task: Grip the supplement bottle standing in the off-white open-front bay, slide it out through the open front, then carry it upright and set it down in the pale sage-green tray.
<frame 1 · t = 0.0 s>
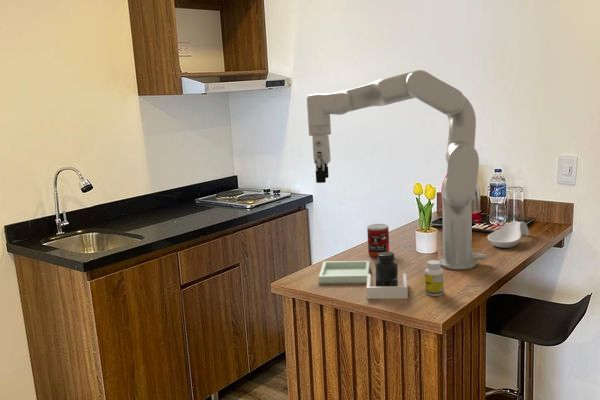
hand: (322, 180, 200), 31 cm above the table, tool pointing down, fingers open, 9 cm apart
spoon rest: (510, 243, 221), on the table
bay: (387, 290, 178), on the table
tray: (345, 275, 195), on the table
supplement bottle 2: (434, 293, 174), on the table
supplement bottle: (387, 291, 178), on the table
canned food: (378, 255, 216), on the table
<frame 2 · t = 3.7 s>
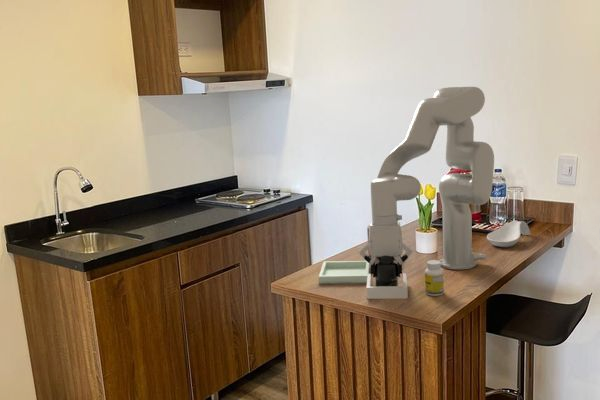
hand: (386, 275, 177), 5 cm above the table, tool pointing down, fingers closed on supplement bottle, 6 cm apart
supplement bottle: (387, 291, 178), on the table, touching gripper
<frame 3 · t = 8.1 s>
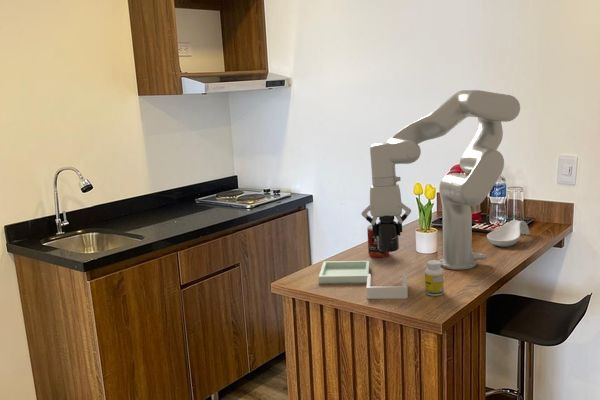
hand: (387, 234, 188), 14 cm above the table, tool pointing down, fingers closed on supplement bottle, 6 cm apart
supplement bottle: (388, 250, 189), point 9 cm above the table, touching gripper
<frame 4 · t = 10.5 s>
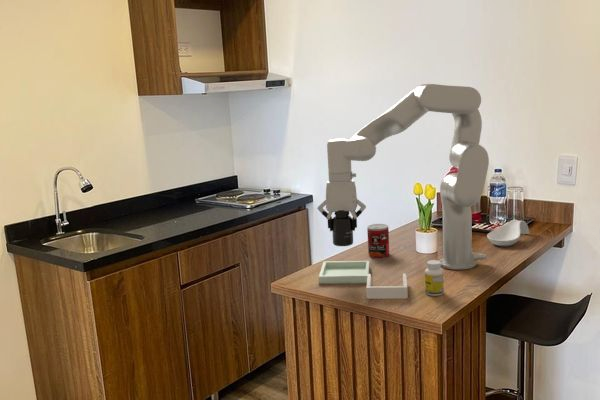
hand: (342, 229, 192), 16 cm above the table, tool pointing down, fingers closed on supplement bottle, 6 cm apart
supplement bottle: (343, 244, 193), point 11 cm above the table, touching gripper
when the fingers open (7 cm above the table, at t = 12.6 s): supplement bottle drops 1 cm, resting on tray.
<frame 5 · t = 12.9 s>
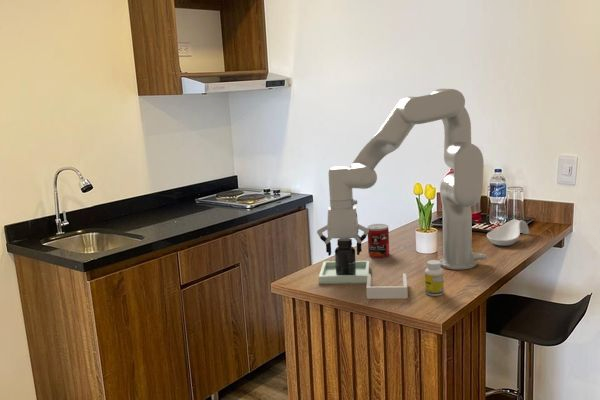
hand: (344, 254, 194), 7 cm above the table, tool pointing down, fingers open, 9 cm apart
supplement bottle: (346, 274, 195), resting on tray
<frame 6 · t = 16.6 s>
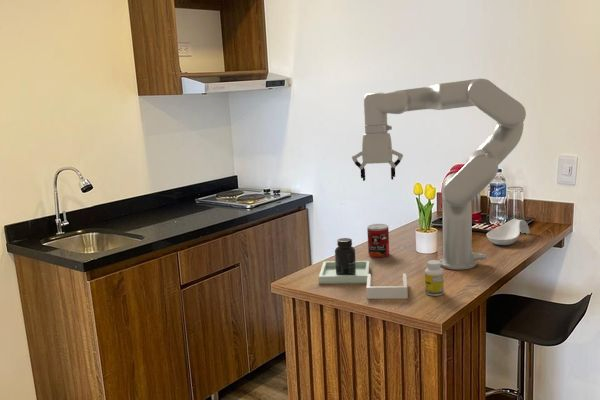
hand: (378, 179, 199), 30 cm above the table, tool pointing down, fingers open, 9 cm apart
at the end: supplement bottle inside the target area on the tray (0.3 cm from its centre), point 0.3 cm above the tray's base; supplement bottle tilted 0°; the gripper is holding nothing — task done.
